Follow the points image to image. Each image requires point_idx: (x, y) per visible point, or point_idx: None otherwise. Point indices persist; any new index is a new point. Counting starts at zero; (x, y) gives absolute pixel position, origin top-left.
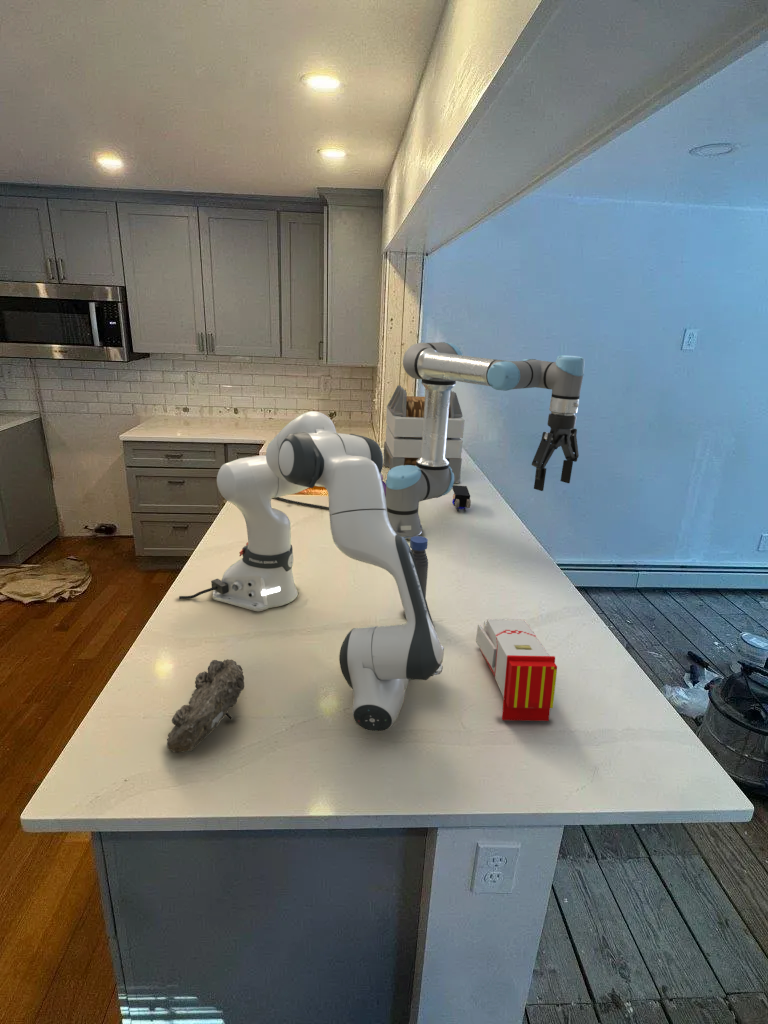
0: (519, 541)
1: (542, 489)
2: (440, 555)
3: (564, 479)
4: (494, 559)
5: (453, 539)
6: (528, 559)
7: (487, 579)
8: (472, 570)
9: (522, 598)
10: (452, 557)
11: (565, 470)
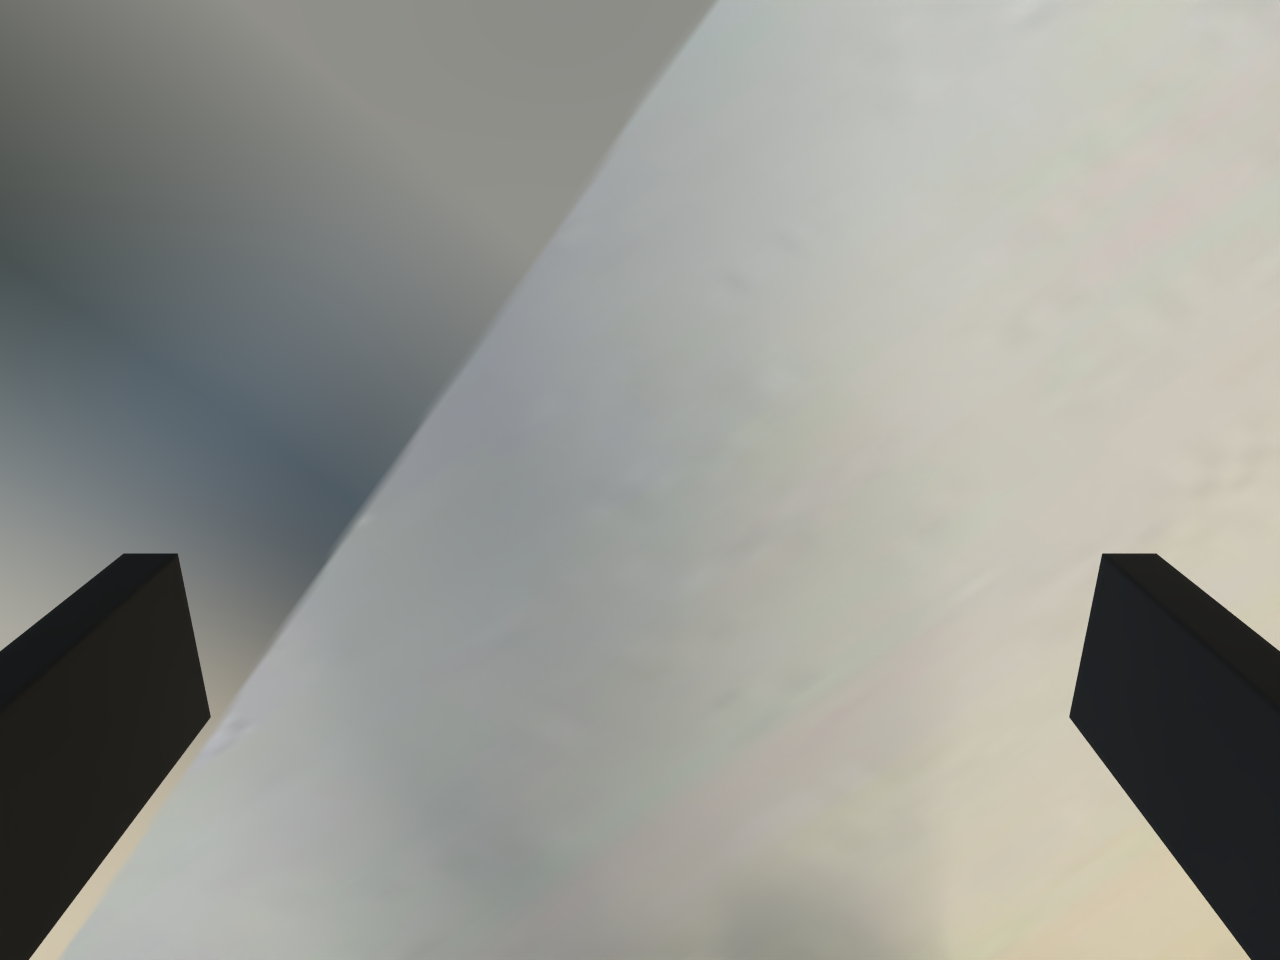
0: (333, 677)
1: (1150, 568)
2: (929, 801)
3: (165, 676)
4: (713, 599)
5: (677, 898)
6: (522, 474)
7: (1003, 446)
8: (962, 577)
9: (1082, 133)
10: (898, 750)
11: (43, 830)
